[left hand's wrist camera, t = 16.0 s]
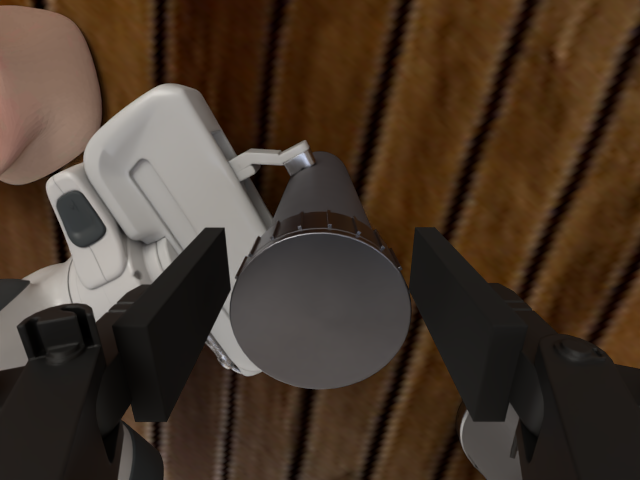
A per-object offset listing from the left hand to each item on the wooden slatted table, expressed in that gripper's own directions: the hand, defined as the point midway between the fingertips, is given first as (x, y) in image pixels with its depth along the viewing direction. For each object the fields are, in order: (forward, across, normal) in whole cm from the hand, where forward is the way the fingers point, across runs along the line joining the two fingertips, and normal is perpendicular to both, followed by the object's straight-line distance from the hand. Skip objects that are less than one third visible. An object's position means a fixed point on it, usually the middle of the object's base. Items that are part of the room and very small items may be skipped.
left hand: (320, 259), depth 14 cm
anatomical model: (+16, +22, -6) cm, 28 cm away
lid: (-4, 0, 0) cm, 4 cm away
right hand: (+10, -1, 0) cm, 10 cm away
